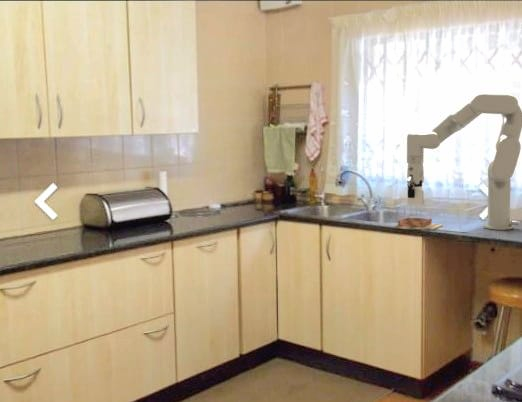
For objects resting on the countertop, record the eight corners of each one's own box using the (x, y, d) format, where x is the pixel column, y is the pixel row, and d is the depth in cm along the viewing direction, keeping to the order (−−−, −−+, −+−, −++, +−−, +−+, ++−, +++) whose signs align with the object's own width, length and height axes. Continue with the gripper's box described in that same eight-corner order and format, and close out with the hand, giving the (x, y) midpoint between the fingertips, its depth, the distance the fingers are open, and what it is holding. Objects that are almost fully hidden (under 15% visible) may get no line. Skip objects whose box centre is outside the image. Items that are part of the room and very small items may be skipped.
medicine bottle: (423, 205, 299) (423, 179, 298) (407, 205, 301) (407, 179, 300) (423, 203, 306) (423, 178, 305) (407, 203, 308) (407, 178, 307)
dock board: (442, 226, 305) (442, 218, 304) (432, 230, 293) (432, 223, 293) (406, 223, 315) (406, 216, 314) (395, 228, 303) (395, 220, 303)
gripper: (416, 161, 292) (415, 199, 294) (429, 158, 306) (428, 195, 309) (400, 160, 296) (400, 198, 298) (414, 158, 311) (413, 194, 313)
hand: (414, 196), depth 303 cm, fingers closed on medicine bottle, 8 cm apart
